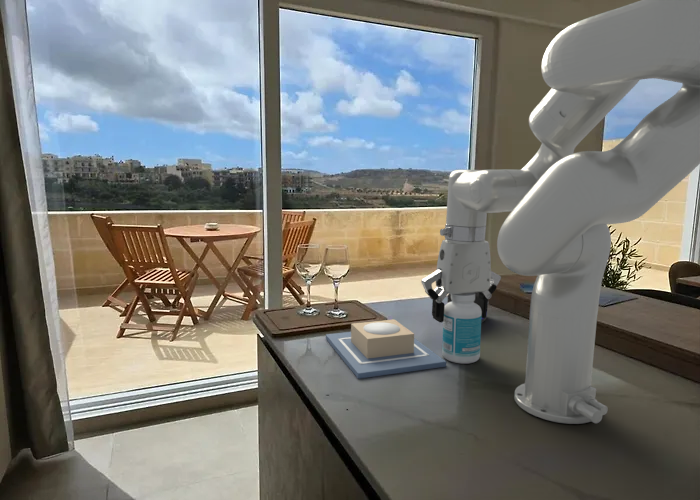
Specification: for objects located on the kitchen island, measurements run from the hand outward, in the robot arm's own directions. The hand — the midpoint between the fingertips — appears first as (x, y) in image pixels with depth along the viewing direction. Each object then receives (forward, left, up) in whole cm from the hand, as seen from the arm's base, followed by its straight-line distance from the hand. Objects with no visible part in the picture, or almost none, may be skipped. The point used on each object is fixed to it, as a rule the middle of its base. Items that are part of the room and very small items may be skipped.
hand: (459, 318), depth 94 cm
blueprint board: (+7, +14, -8) cm, 18 cm away
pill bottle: (-1, 0, -8) cm, 8 cm away
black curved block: (+19, -14, -8) cm, 25 cm away
